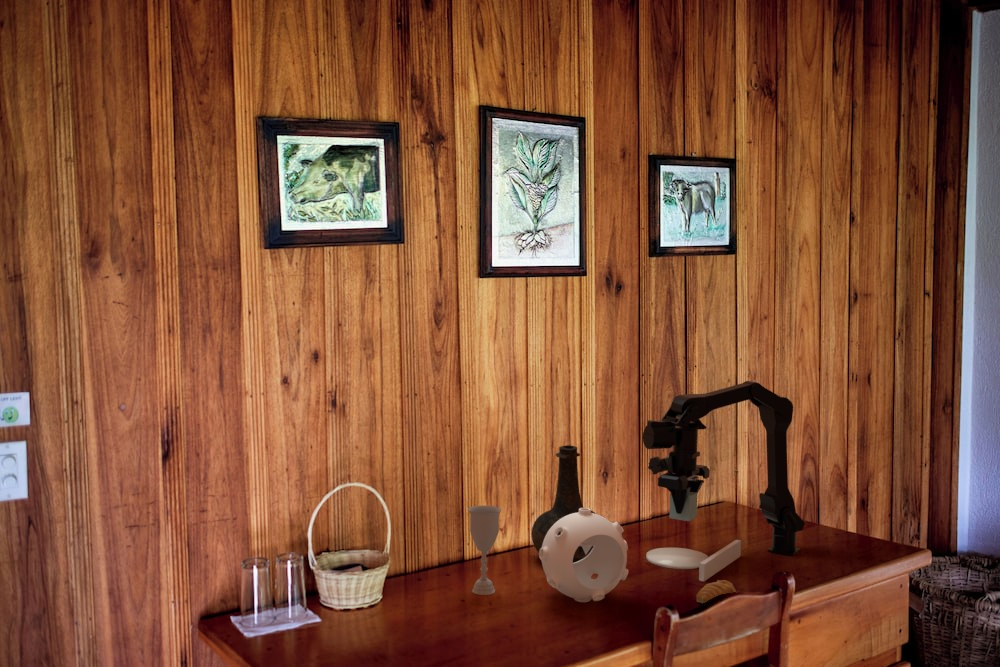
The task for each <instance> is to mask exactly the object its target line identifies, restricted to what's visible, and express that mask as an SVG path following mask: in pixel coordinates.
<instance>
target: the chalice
mask: <svg viewBox="0 0 1000 667" xmlns="http://www.w3.org/2000/svg"><path fill="white" fill-rule="evenodd" d="M467 510H468V512H469V514H470V516H469V518H470V519H469V522H470V523H469V533H470V535H471V538H472V541H473V543H474V545H475V547H476V549H477V551H479V552H481V559H480V560H479V561H480V562H481V566H480V568H479V570H480V571H481V576H480V577H479V578H478V579H477V580H476V581H475V584H474V585H473V588H472V590H471V592H472V593H473V594H476V595H481V596H486V595H487V596H488V595H492V594H494V593H495V592H496V589H495V587H494V585H493V581H492V580H490V579H489V578H488V577H487V572H488V570H489V568H488V567H487V562H489V561H488V558H487V554H488V552H490V551H491V550H492V548H493V547H494V544H495V542H496V540H497V538H498V535H499V532H500V531H499V530H500V528H499V527H500V513H501V511H502V508H500V507H497V506H493V505H474V506H473V505H472V506H470V507H468V508H467Z"/></svg>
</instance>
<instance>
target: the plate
mask: <svg viewBox="0 0 1000 667" xmlns="http://www.w3.org/2000/svg"><path fill="white" fill-rule="evenodd" d="M645 554H646V560H647V561H648V562H649V563H651V564H653V565H655V566H659V567H662V568H666V569H667V568H668V569H676V570H693V569H699V563H701V562H702V561H704V560H705V559H707V558H708V557H709V556H708V555H707V554H705V553H704V552H701V551H698V550H695V549H692V548H691V549H689V548H686V547H685V548H683V547H659V548H653V549H650V550H649V551H648V552H646V553H645Z"/></svg>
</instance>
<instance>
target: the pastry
mask: <svg viewBox="0 0 1000 667" xmlns="http://www.w3.org/2000/svg"><path fill="white" fill-rule="evenodd" d="M733 592H736V593H737V590H736V588H735V587H734V585H733V583H732V582H730V581H728V580H725V579H723V580H719V579H717V581H715V582H709V583H707V584H705V585H704V586H703V587H702V588H701V589H700V590H699V591H698V592H697V594H696V603H701V604H703V603H705V602H707V601H708V600H710V599H712V598H714V597H716V596H718V595H721V594H726V593H733Z"/></svg>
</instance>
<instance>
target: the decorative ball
mask: <svg viewBox="0 0 1000 667" xmlns="http://www.w3.org/2000/svg"><path fill="white" fill-rule="evenodd" d="M591 510H592V509H591V508H588V507H584V508H580V509H579V512H577V513H572V514H569V515H567V516H564V517H563V518H561V519H559V520H558V521H557V522H556V523H555V524H554V525H553V526H552V527H551V528H550V529H549V531H548V532H547V534H546V536H545V538H544V541H543V544H542V548H540V550H539V553H538V558H539V559H540V561H541V564H542V569H543V572H544V574H545V576H546V581H547V584H548V585H549V586H551V587H552V588H553V589H556V590H557V591H559V593H561V594H563V595H564V596H566V597H568V598H572V599H574V601H575V602H579V603H587V602H590V601H591V600H593V602H599V601H602V600H603V599H605V597H606V596H605V595H607V594H608V593H610V592H611V591H612V590H614V589H615V588H616V586H618V584H619V583H620V581H625V580H626V579H627V577H628V574H629V569H628V568H626V567H627V561H628V553H627V551H628V550H629V547H628V546H629V545H628V542H627V541H626V540H625V539H624V538H623V535H622V534H623V532H625V530H624V529H623V527H622V525H620V523H619V522H618V521H615V522H611V521H610V520H609V519H607V518H605V517H604V516H602V515H600V514H597V513H596V514H594V513H591ZM560 531H561V535H558V533H559V532H560ZM557 535H558V536H557ZM578 546H582V548H583V550H584V552H585V555H586V554H587V553H588V551H589V550H590V548H591V547H592V546H593V548H592V550H591V552H590V553H589V554H588V555H587V556H586V557H585V558H583V559H581V560H579V561H577V562H574V563H573V557H574V554H575V551H576V549H577V548H578ZM594 574H595V575H597V577H596V578H592V576H593V575H594Z"/></svg>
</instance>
